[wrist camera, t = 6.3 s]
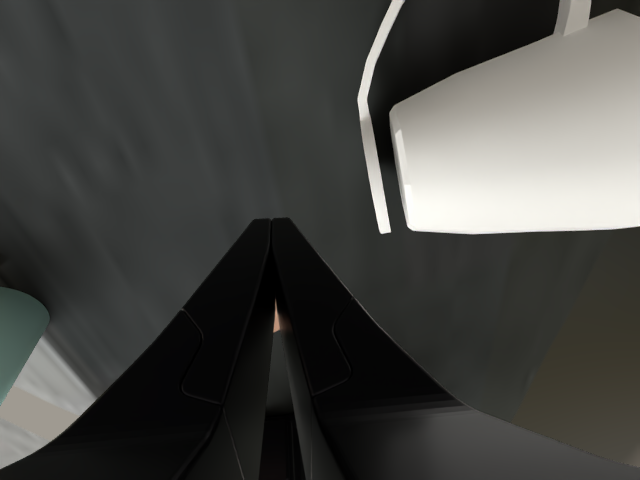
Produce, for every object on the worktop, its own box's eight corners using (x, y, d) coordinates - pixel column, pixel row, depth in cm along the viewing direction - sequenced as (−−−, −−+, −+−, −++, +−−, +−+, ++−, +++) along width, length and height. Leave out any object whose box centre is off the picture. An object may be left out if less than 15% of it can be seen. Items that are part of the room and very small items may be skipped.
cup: (392, 310, 12) (695, 270, 10) (319, -74, 8) (744, -218, 7) (383, 235, 18) (566, 203, 17) (341, 3, 15) (561, -62, 13)
